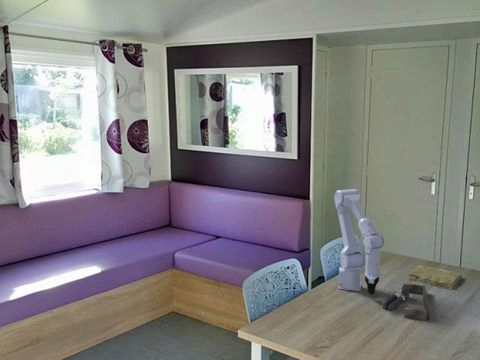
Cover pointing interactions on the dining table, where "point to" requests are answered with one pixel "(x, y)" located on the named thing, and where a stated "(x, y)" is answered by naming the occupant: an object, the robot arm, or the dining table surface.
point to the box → (416, 312)
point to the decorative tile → (435, 276)
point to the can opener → (396, 298)
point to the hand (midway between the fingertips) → (371, 293)
